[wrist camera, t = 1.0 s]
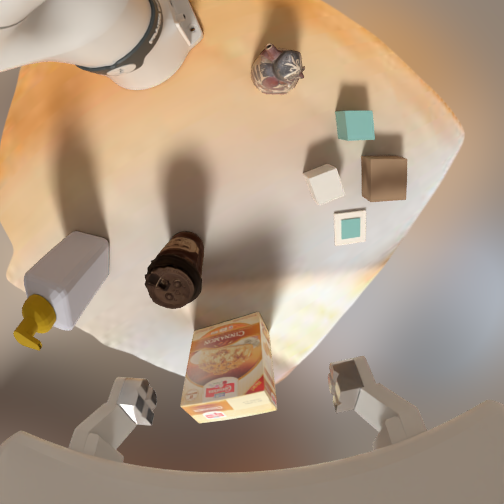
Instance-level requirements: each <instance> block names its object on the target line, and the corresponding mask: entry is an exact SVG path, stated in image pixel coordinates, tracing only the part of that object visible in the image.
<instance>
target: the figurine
mask: <svg viewBox="0 0 504 504" xmlns="http://www.w3.org/2000/svg"><path fill="white" fill-rule="evenodd" d="M304 70H305V66H304V67H302V61H301V53H300V52H297V51H293V50H287V49H281V48H278V49H277V48H276V47H275V46H274V45H273V44H267V45H266V46H265V49H264V50H263V51H262V52H261V54H260V56H259V57H258V58H257V59H256V60H255V62H254V64H253V66H252V70H251V78H252V81H253V83H254V85H255V86H256V87H257V88H258V89H259V90H260V91H261V92H262V93H265V94H272V95H284V94H287V93H288V92H289V91H290V90H292V89H293V88H294V87H295V86H296V84H297V82H298V80H299V78H301V79H302V78H304V75H303V73H302V72H303V71H304Z"/></svg>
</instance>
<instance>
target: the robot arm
mask: <svg viewBox="0 0 504 504" xmlns="http://www.w3.org/2000/svg"><path fill="white" fill-rule="evenodd" d="M192 28H195V30H194V31H190V30H191V29H192ZM202 38H203V32H202V29H201V27H200V25H199V22H198V20H197V18H196V16H195V13H194V11H193V9H192V7H191V5H190V2H189V0H0V72H3V71H6V70H10V69H13V68H16V67H20V66H24V65H29V64H33V63H39V62H48V61H54V62H62V63H69V64H74V65H76V66H77V67H79V68H81V69H83V70H86V71H89V72H93V73H97V74H100V75H104V76H107V77H109V78H110V79H111V80H113V81H114V82H115V83H116V84H118V85H119V86H121V87H123V88H126V89H131V90H143V89H148V88H151V87H154V86H157V85H159V84H161V83H162V82H164V81H166V80H167V79H168V78H170V77H171V76H172V75H173V74H174V73H175V72H176V71H177V70H178V69H179V67H180V66H181V65H182V63H183V61H184V60H185V58H186V56H187V54H188V52H189V51H190V49H192V48H193V47H194V46H195V45H196V44H198V43H199V42H200V41H201V39H202ZM329 369H330V373H329V377H328V382H329V389H330V393H331V394H332V395H334V397H333V404H334V407H335V412H336V413H341V412H345V411H350V410H355V411H356V412H357V413H358V414H359V415H360V416H361V417H362V418H364V419H365V420H366V421H367V422H368V423H369V424H370V425H372V426H373V427H374V428H375V429H376V430H377V431H378V432H379V434H378V435H377V437H376V439H375V440H374V442H373V444H372V445H373V448H374V450H373V451H370V452H367V453H363V454H360V455H355V456H352V457H348V458H343V459H339V460H335V461H330V462H325V463H320V464H315V465H309V466H303V467H296V468H288V469H280V470H271V471H257V472H235V473H211V472H188V471H176V470H166V469H157V468H150V467H143V466H137V465H131V464H126V463H123V459H124V457H123V455H122V454H120V453H119V452H118V451H117V450H116V449H117V448H118V447H119V445H120V444H121V443H122V442H123V441H124V440H125V438H126V437H127V436H128V435H129V434H130V432H131V431H132V430H133V429H134V428H135V426H136V424H138V425H152V422H153V418H154V413H153V411H152V410H153V409H154V408H155V407H156V403H157V396H156V392H155V390H154V389H153V388H151V387H150V386H149V381H148V380H147V379H140V378H125V377H117V378H116V379H115V382H114V385H113V387H112V390H111V393H110V396H109V399H108V401H107V403H104V404H103V405H102V406H101V407H99V409H97V410H96V411H95V412H94V413H92V414H91V415H90V416H89V417H88V418H87V419H86V420H85V421H83V422H82V423H81V424H80V425H79V426H77V427H76V428H75V430H74V433H73V436H72V439H71V442H70V445H69V448H65V447H62V446H60V445H57V444H54V443H51V442H49V441H46V440H43V439H41V438H38V437H36V436H34V435H31V434H29V433H26V432H24V431H19V432H17V433H15V434H14V435H12V436H11V437H10V438H8V439H7V440H5V441H4V442H3V443H2V444H1V446H0V504H504V405H503V404H501V403H498V402H496V401H493V400H486V401H484V402H482V403H480V404H479V405H477V406H475V407H474V408H472V409H470V410H468V411H467V412H465V413H463V414H461V415H459V416H457V417H455V418H453V419H451V420H449V421H447V422H445V423H443V424H441V425H439V426H437V427H435V428H432V429H430V430H428V431H427V429H426V427H425V424H424V422H423V419H422V417H421V415H420V413H419V410H418V408H417V407H415V406H414V405H412V404H411V403H409V402H408V401H406V400H404V399H403V398H401V397H400V396H398V395H397V394H395V393H394V392H392V391H391V390H389V389H387V388H386V387H384V386H383V385H381V384H380V383H378V384H376V382H375V380H374V377H373V375H372V372H371V370H370V368H369V365H368V363H367V360H366V358H365V357H364V356H360V357H356V358H350V359H346V360H341V361H337V362H333V363H330V366H329Z"/></svg>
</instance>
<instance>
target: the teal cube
mask: <svg viewBox="0 0 504 504" xmlns="http://www.w3.org/2000/svg"><path fill="white" fill-rule="evenodd" d="M335 114H336V122H337V132H338V139H343V140H347V141H352V140H375V135H374V123H373V113H372V111H336V112H335Z"/></svg>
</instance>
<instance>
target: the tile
mask: <svg viewBox="0 0 504 504" xmlns="http://www.w3.org/2000/svg"><path fill="white" fill-rule="evenodd" d="M334 240H335V246H339V245H345V244H352V243H358V242H365V241H366V210H359V211H351V212H343V213H335V214H334Z"/></svg>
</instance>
